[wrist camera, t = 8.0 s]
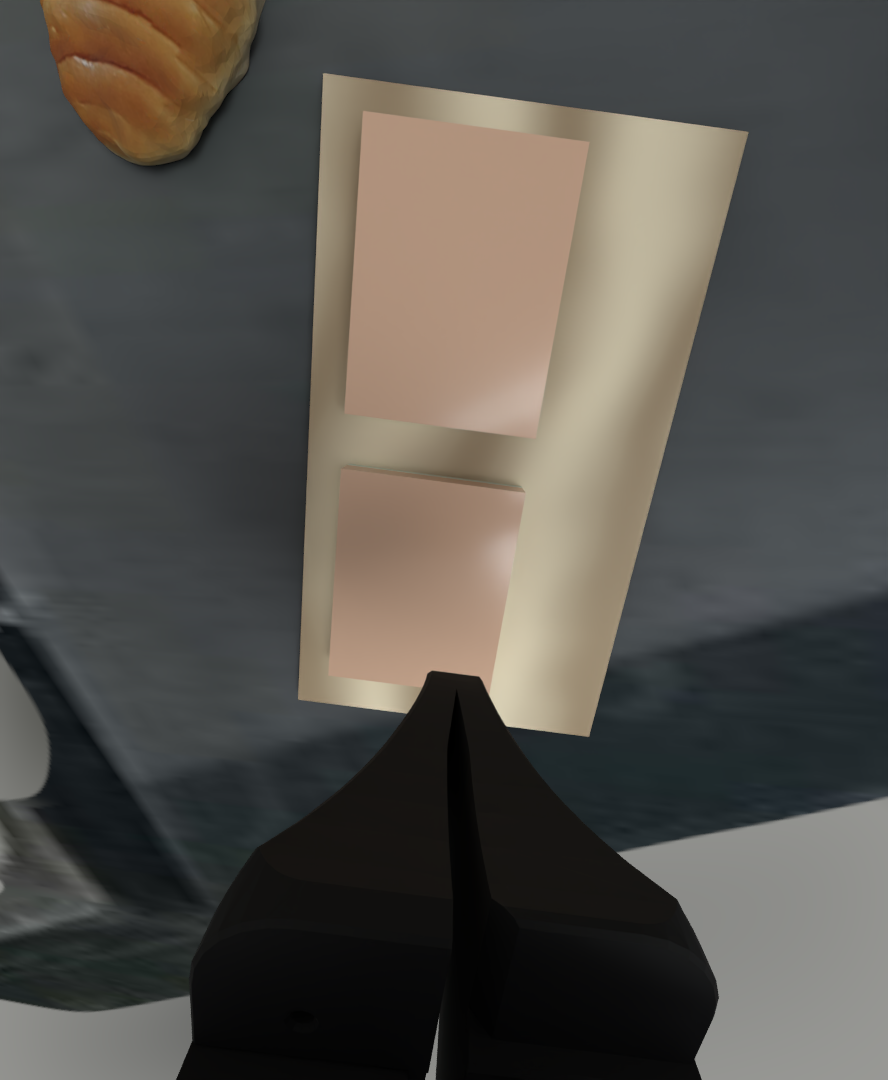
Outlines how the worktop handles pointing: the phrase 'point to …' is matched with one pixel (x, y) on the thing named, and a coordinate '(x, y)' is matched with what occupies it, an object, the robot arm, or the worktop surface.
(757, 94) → the worktop surface
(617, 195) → the board
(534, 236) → the tile
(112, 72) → the pastry
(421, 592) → the tile
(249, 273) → the worktop surface
